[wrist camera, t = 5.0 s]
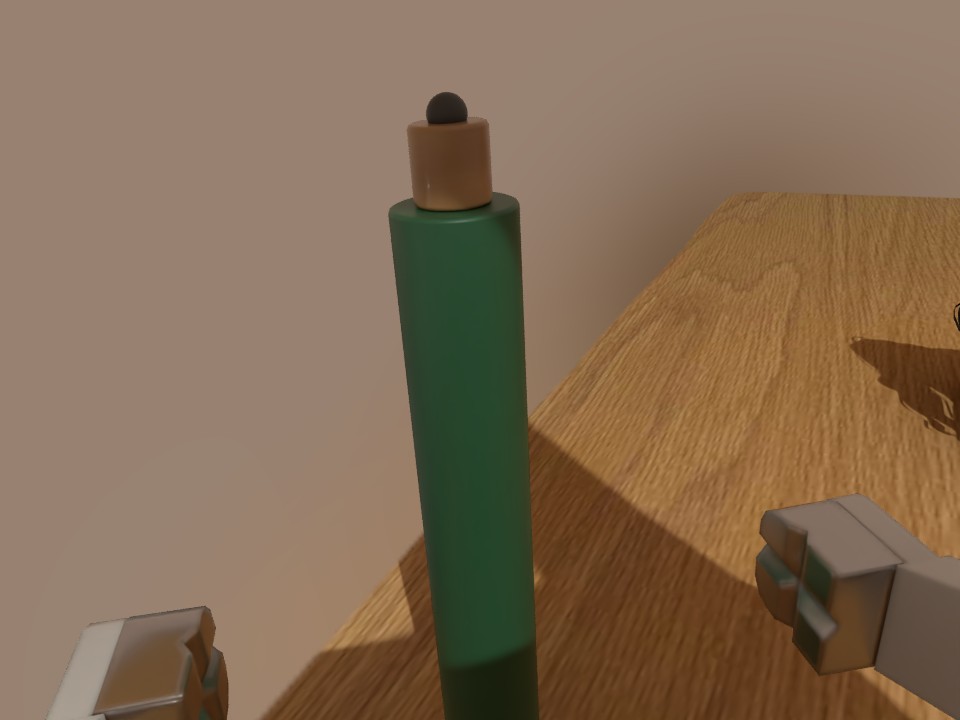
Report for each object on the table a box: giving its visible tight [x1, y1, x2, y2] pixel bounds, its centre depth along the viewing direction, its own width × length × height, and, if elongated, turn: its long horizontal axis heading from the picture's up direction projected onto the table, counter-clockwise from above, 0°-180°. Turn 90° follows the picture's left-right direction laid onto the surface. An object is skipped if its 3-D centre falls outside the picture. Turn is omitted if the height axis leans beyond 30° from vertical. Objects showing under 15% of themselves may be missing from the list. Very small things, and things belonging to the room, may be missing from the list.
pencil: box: [388, 92, 539, 720], centre depth 14 cm, size 2×2×15 cm
